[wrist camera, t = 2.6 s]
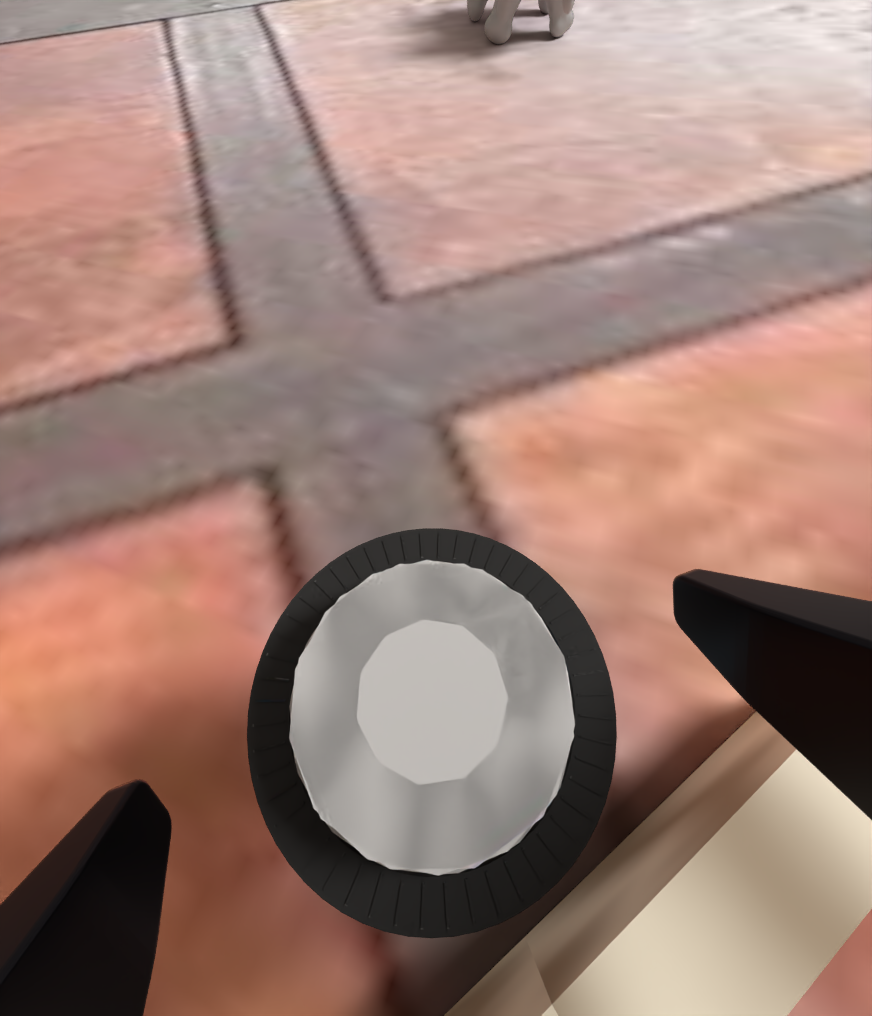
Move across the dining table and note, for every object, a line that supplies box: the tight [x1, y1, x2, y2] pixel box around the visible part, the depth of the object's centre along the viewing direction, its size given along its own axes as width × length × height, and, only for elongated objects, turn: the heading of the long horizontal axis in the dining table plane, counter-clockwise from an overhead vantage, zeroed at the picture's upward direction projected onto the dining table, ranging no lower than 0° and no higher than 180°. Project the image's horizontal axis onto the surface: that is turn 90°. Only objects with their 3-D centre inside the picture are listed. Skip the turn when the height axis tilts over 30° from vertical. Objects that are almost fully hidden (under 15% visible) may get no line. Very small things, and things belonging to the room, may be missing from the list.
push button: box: [247, 529, 617, 938], centre depth 10 cm, size 7×5×10 cm
